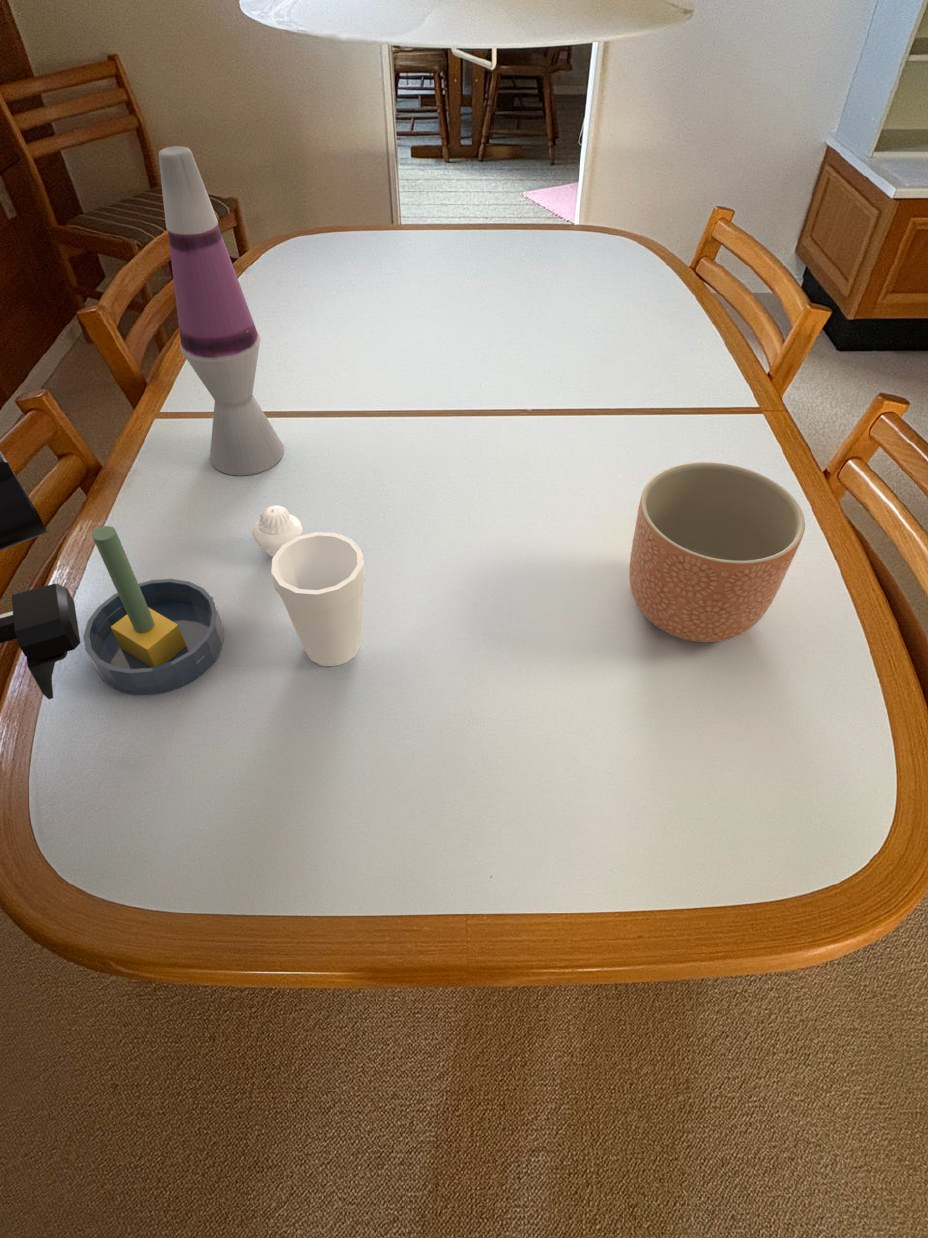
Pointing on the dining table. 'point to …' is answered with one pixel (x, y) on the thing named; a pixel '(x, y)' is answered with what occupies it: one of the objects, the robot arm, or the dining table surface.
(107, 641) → the bowl
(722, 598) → the planter
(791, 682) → the dining table surface
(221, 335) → the lamp
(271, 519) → the white citrus juicer
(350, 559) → the foam cup
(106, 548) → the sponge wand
